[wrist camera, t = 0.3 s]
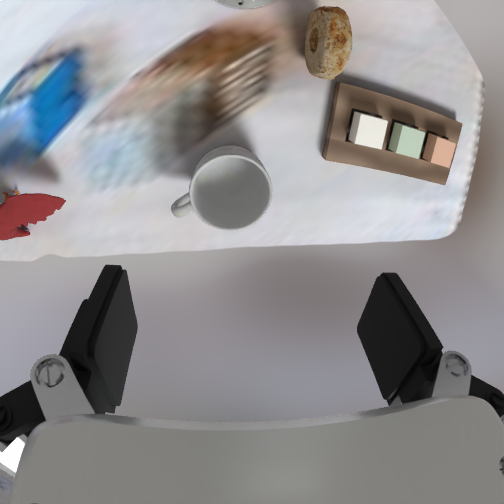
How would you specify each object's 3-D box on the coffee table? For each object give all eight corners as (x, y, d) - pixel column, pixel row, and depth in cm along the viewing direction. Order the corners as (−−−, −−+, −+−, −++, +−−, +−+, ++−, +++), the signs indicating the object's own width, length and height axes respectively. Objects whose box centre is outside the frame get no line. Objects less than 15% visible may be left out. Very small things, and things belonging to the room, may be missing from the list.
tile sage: (394, 122, 40) (402, 125, 38) (416, 128, 40) (425, 132, 38) (388, 148, 42) (395, 153, 40) (410, 154, 43) (418, 158, 40)
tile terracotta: (428, 133, 41) (437, 136, 38) (447, 139, 41) (456, 143, 39) (422, 157, 43) (430, 162, 41) (440, 163, 43) (449, 168, 41)
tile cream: (354, 111, 39) (361, 113, 37) (380, 118, 39) (388, 121, 37) (348, 139, 41) (354, 143, 39) (374, 145, 42) (381, 149, 40)
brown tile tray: (336, 81, 38) (340, 82, 37) (456, 121, 41) (462, 123, 40) (322, 156, 44) (325, 160, 43) (439, 181, 48) (445, 185, 46)
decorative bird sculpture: (87, 196, 49) (47, 162, 34) (82, 247, 48) (36, 226, 33) (-14, 207, 47) (-56, 186, 32) (-19, 249, 45) (-65, 235, 31)
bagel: (302, 11, 32) (322, -4, 24) (328, 14, 32) (354, 2, 24) (300, 77, 38) (320, 78, 29) (325, 79, 38) (351, 82, 30)
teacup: (260, 134, 42) (267, 147, 36) (270, 201, 48) (277, 225, 41) (166, 152, 42) (155, 169, 36) (183, 216, 48) (177, 242, 42)
